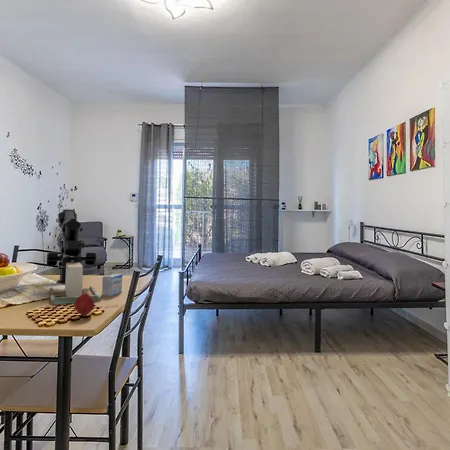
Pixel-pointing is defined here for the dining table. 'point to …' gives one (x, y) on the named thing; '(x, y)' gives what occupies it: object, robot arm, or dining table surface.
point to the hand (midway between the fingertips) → (72, 275)
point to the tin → (73, 279)
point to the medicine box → (112, 284)
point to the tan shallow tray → (65, 299)
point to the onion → (84, 304)
